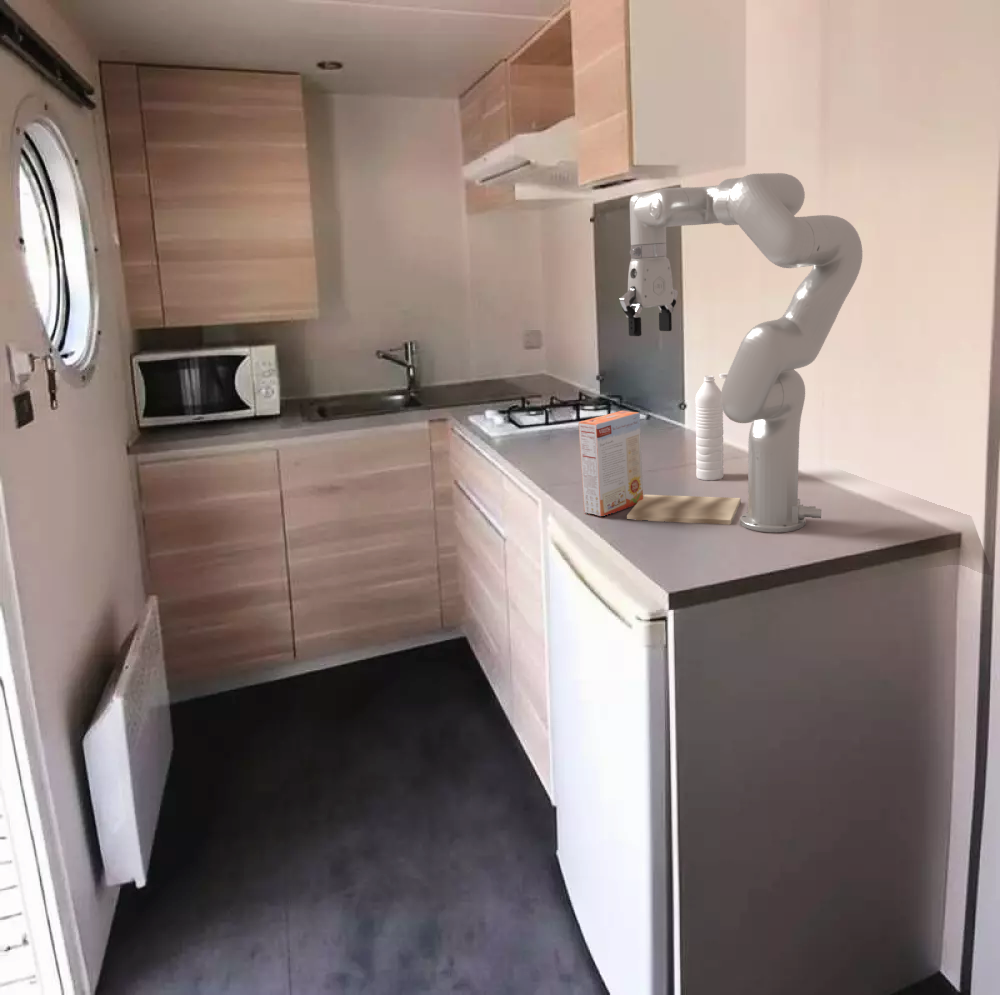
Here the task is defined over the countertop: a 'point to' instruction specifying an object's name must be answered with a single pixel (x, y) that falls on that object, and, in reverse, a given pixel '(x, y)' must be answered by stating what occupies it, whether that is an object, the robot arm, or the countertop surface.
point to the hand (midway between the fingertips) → (650, 333)
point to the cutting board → (685, 509)
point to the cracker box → (611, 462)
